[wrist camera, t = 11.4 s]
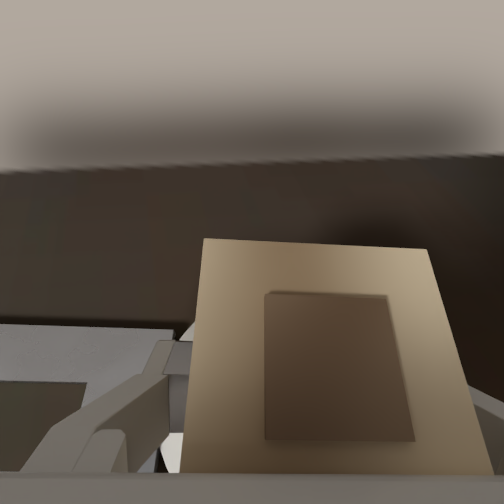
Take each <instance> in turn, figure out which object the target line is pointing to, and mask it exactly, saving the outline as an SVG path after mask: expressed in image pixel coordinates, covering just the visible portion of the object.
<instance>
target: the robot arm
mask: <svg viewBox="0 0 504 504" xmlns="http://www.w3.org/2000/svg"><path fill="white" fill-rule="evenodd" d="M192 347H193V341H181V340H176V341H175V340H158V341H157V342H156V344H155V346H154V349H153V351H152V353H151V355H150V357H149V359H148V361H147V363H146V366H145V368H144V370H143V372H142V374H135V375H134V376H132V377H131V378H129V379H127V380H126V381H124V382H123V383H121V384H119V385H118V386H116V387H115V388H113V389H111V390H110V391H108V392H107V393H105V394H104V395H102V396H100V397H99V398H97V399H96V400H94V401H92V402H91V403H89V404H88V405H86V406H84V407H83V408H81V409H80V410H78V411H76V412H75V413H73V414H72V415H70V416H68V417H67V418H65V419H64V420H62V421H60V422H59V423H57V424H56V425H54V426H52V427H51V429H50V430H49V431H48V433H47V434H46V436H45V437H44V438H43V440H42V441H41V443H40V444H39V445H38V447H37V448H36V450H35V451H34V452H33V454H32V455H31V456H30V458H29V459H28V461H27V462H26V463H25V465H24V466H23V468H22V469H21V470H20V472H0V504H504V403H503V402H501V401H499V400H497V399H495V398H493V397H491V396H489V395H487V394H485V393H483V392H481V391H479V390H477V389H475V388H473V387H471V386H469V385H468V389H469V392H470V395H471V399H472V402H473V405H474V409H475V412H476V415H477V419H478V422H479V425H480V429H481V432H482V435H483V438H484V442H485V445H486V448H487V452H488V455H489V458H490V462H491V465H492V468H493V472H494V475H404V474H243V473H136V472H137V471H138V470H139V469H140V468H141V466H142V465H143V464H144V463H145V462H146V461H147V460H148V459H149V457H150V456H151V455H152V454H153V453H154V452H155V451H156V449H157V448H158V447H159V446H160V445H161V444H162V443H163V442H164V440H165V439H166V438H167V437H168V436H169V433H183V432H184V422H185V413H186V403H187V394H188V385H189V375H190V366H191V357H192Z"/></svg>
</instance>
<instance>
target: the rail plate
mask: <svg viewBox="0 0 504 504" xmlns="http://www.w3.org/2000/svg"><path fill="white" fill-rule="evenodd" d="M175 336H176V333H175V331H174V330H166V329H136V328H105V327H74V326H43V325H13V324H0V382H22V383H66V384H87V387H86V390H85V394H84V398H83V402H82V406H81V408H83V407H84V406H86V405H88V404H89V403H91V402H92V401H94V400H96V399H97V398H99V397H100V396H102V395H104V394H105V393H107V392H108V391H110V390H111V389H113V388H115V387H116V386H118V385H119V384H121V383H123V382H124V381H126V380H127V379H129V378H131V377H132V376H134V375H135V374H142V372H143V370H144V368H145V366H146V363H147V361H148V359H149V357H150V355H151V353H152V351H153V349H154V346H155V344H156V342H157V341H158V340H175ZM159 455H160V446H159V447H158V448H157V449H156V451H155V452H154V453H153V454H152V455H151V456H150V457H149V459H148V460H147V461H146V462H145V463H144V464H143V465H142V466H141V468H140V469H139V470H138V471H137V472H136V473H157V470H158V462H159Z"/></svg>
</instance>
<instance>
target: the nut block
mask: <svg viewBox="0 0 504 504" xmlns="http://www.w3.org/2000/svg"><path fill="white" fill-rule="evenodd" d="M179 473H243V474H404V475H494V472H493V468H492V465H491V462H490V458H489V455H488V452H487V448H486V445H485V442H484V438H483V435H482V432H481V429H480V425H479V422H478V419H477V415H476V412H475V409H474V405H473V402H472V399H471V395H470V392H469V389H468V385H467V382H466V379H465V375H464V372H463V369H462V365H461V362H460V359H459V355H458V352H457V349H456V345H455V342H454V339H453V335H452V332H451V329H450V325H449V322H448V319H447V315H446V312H445V309H444V305H443V302H442V299H441V296H440V292H439V289H438V286H437V282H436V279H435V276H434V272H433V269H432V266H431V262H430V259H429V256H428V252H427V249H410V248H389V247H369V246H349V245H328V244H308V243H288V242H267V241H247V240H226V239H206V238H204V244H203V253H202V263H201V272H200V281H199V291H198V300H197V310H196V319H195V328H194V338H193V347H192V357H191V366H190V375H189V385H188V394H187V403H186V413H185V422H184V432H183V441H182V450H181V460H180V469H179Z"/></svg>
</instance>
